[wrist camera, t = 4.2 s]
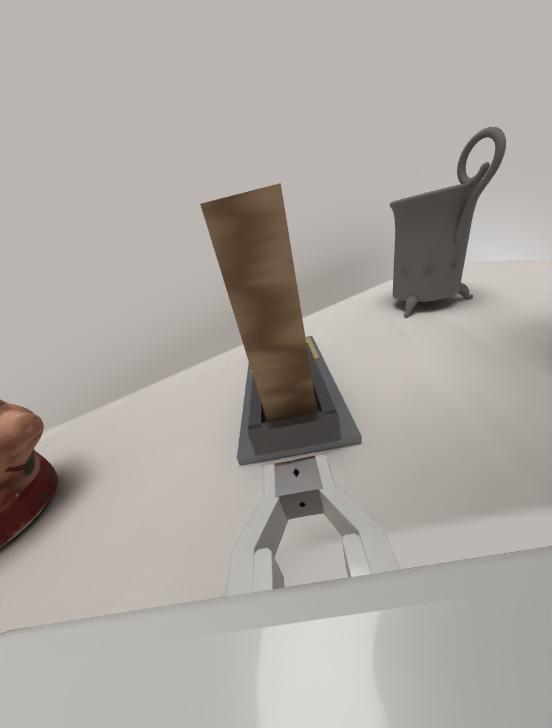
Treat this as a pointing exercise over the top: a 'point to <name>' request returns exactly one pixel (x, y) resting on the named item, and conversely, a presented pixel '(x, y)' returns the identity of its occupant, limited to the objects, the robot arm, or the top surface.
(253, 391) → the steel chute
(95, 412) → the top surface
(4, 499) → the decorative planter
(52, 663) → the robot arm
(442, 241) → the footed curly-handled cup
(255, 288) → the walnut block
